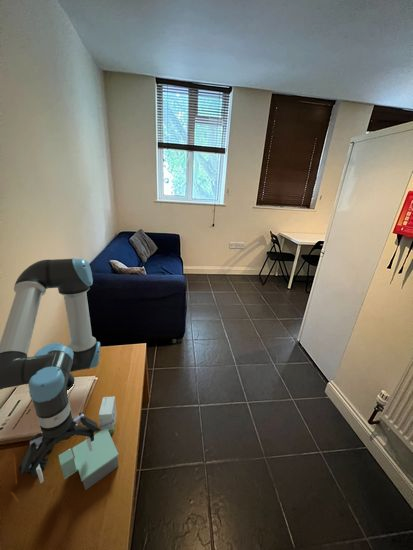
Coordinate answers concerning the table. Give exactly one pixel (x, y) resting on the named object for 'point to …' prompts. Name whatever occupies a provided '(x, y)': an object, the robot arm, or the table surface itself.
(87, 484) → the tub
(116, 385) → the table surface
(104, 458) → the lid
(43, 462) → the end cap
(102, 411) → the ink box
